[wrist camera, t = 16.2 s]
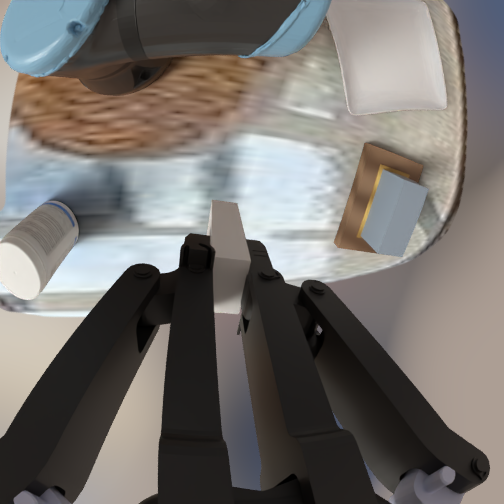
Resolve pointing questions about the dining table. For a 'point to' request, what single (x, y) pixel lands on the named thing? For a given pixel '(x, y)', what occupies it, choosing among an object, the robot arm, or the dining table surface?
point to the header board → (369, 193)
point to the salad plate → (387, 55)
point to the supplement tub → (37, 249)
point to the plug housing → (393, 213)
